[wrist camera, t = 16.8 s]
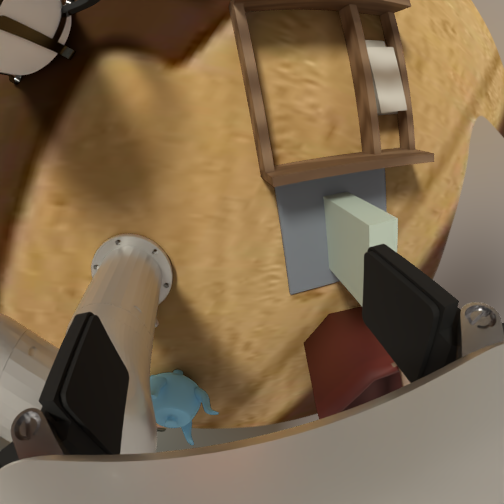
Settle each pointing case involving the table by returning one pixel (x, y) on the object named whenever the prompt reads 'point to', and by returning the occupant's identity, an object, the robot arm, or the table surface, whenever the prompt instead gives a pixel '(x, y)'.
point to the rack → (372, 157)
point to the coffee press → (35, 33)
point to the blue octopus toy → (177, 401)
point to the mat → (318, 222)
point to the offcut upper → (386, 80)
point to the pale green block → (355, 237)
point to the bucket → (348, 364)
